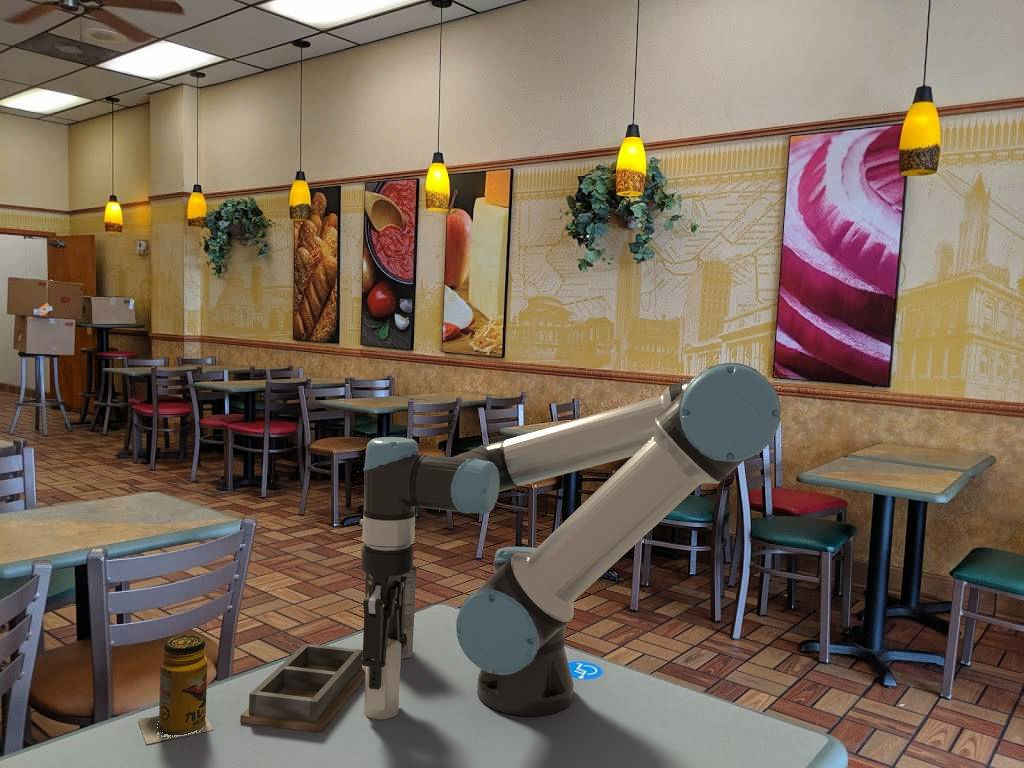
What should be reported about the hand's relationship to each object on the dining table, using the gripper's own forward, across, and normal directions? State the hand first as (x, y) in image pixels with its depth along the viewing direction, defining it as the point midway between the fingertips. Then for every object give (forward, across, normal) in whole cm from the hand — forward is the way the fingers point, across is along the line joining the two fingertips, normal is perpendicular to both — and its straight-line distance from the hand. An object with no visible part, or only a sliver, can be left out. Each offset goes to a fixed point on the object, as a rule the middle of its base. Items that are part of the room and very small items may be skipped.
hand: (382, 699), depth 116 cm
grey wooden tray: (+2, -2, -12) cm, 12 cm away
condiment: (+2, +11, -26) cm, 28 cm away
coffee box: (+2, -22, -6) cm, 23 cm away
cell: (+2, 0, 0) cm, 2 cm away
